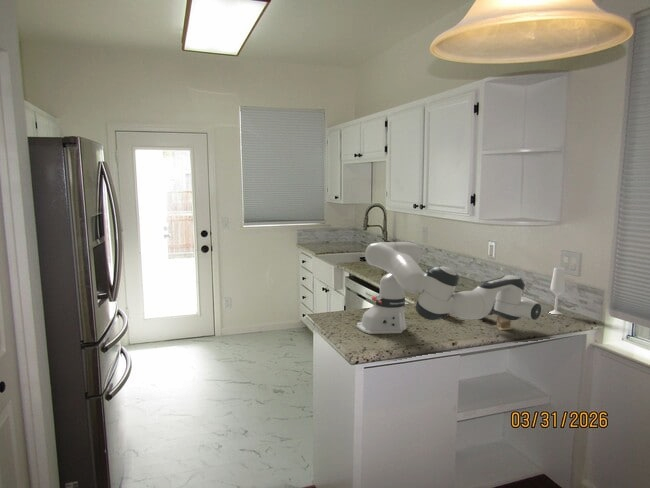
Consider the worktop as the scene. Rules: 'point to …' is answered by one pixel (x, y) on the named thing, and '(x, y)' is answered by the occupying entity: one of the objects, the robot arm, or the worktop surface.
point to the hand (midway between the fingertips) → (489, 295)
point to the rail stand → (501, 322)
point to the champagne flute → (557, 285)
